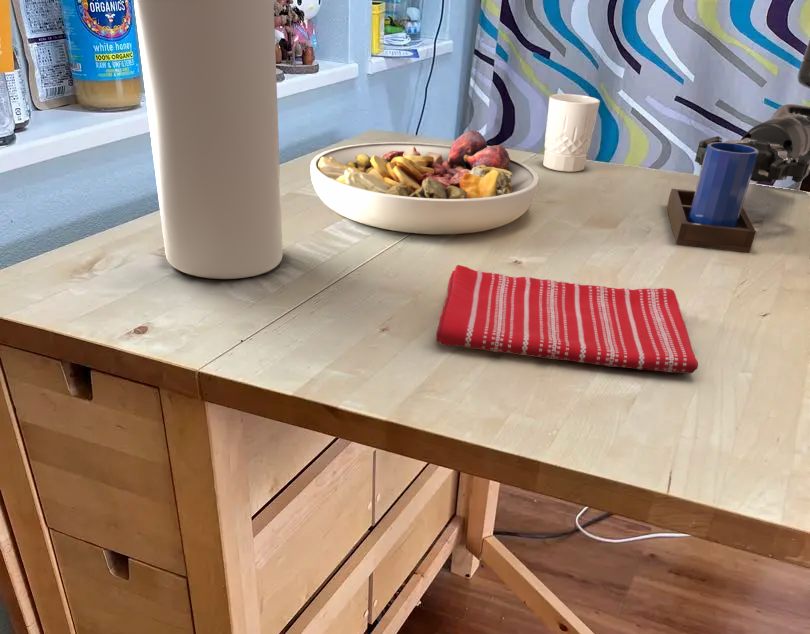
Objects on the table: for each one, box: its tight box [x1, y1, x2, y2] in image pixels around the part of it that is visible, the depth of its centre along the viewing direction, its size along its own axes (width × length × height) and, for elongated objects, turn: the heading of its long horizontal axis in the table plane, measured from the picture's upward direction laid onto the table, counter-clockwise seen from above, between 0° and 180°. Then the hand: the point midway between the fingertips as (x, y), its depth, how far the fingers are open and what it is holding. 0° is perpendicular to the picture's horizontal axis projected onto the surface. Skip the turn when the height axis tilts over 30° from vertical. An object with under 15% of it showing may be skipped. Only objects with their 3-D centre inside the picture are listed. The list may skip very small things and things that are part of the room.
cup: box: [687, 141, 759, 228], centre depth 102 cm, size 6×6×10 cm
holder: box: [666, 188, 757, 253], centre depth 108 cm, size 9×17×3 cm, turn 169°
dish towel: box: [436, 264, 699, 374], centre depth 78 cm, size 17×24×3 cm
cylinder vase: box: [133, 0, 284, 280], centre depth 81 cm, size 12×12×25 cm
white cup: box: [542, 93, 601, 173], centre depth 129 cm, size 8×8×10 cm
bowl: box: [310, 130, 540, 235], centre depth 107 cm, size 30×30×8 cm
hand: (737, 167), depth 103 cm, fingers open, 8 cm apart
